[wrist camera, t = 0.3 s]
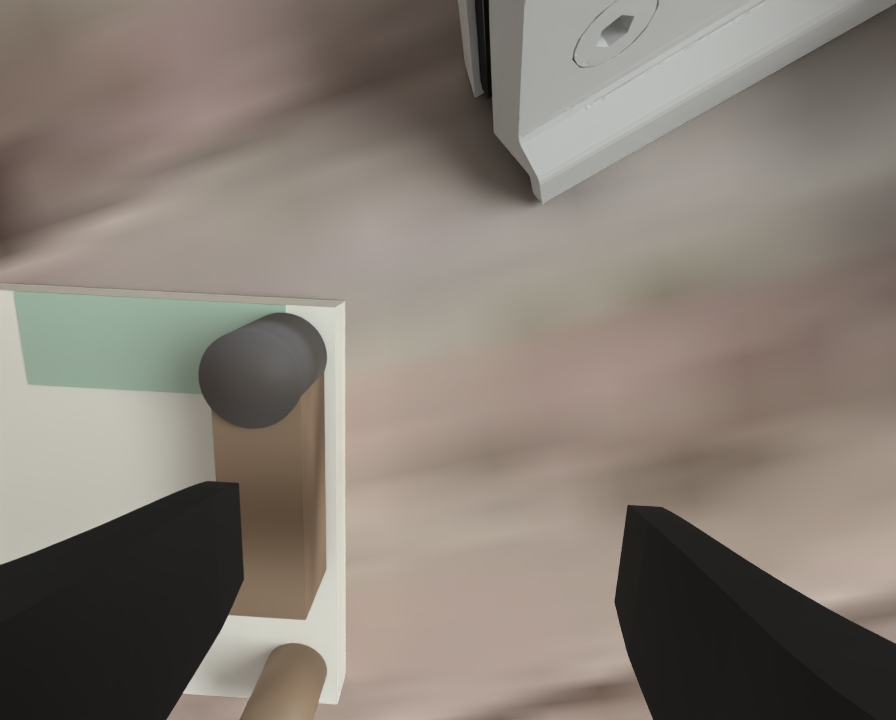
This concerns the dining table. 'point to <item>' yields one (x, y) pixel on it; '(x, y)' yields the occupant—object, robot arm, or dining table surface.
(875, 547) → the dining table surface
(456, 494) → the dining table surface
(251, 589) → the hammer
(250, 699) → the stool seat
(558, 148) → the hinge
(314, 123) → the dining table surface
